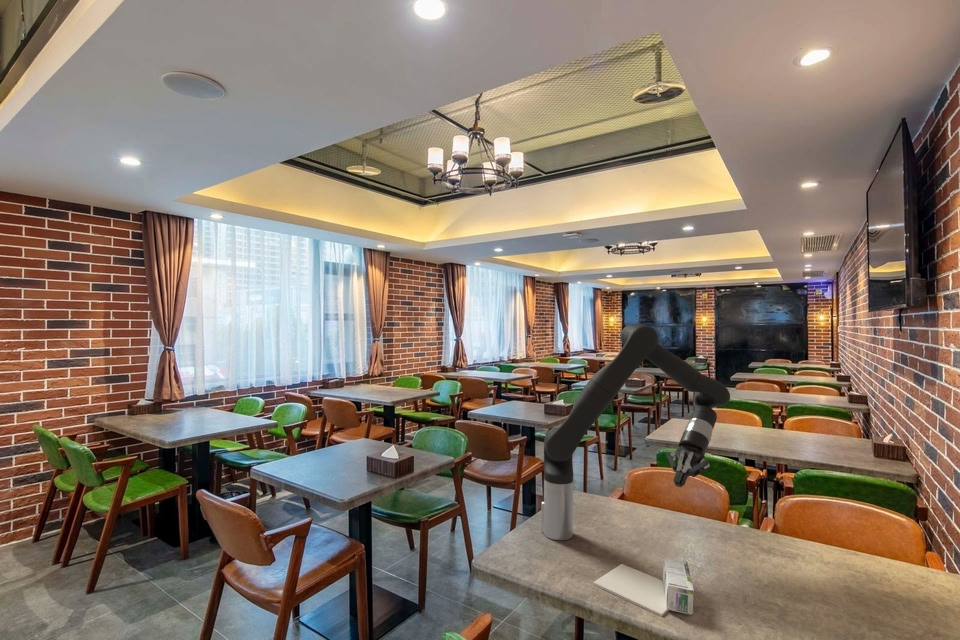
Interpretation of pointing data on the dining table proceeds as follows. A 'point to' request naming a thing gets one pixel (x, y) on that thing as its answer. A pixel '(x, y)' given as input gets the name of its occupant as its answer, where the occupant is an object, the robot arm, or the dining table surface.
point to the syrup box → (677, 586)
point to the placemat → (635, 588)
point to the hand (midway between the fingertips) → (677, 485)
